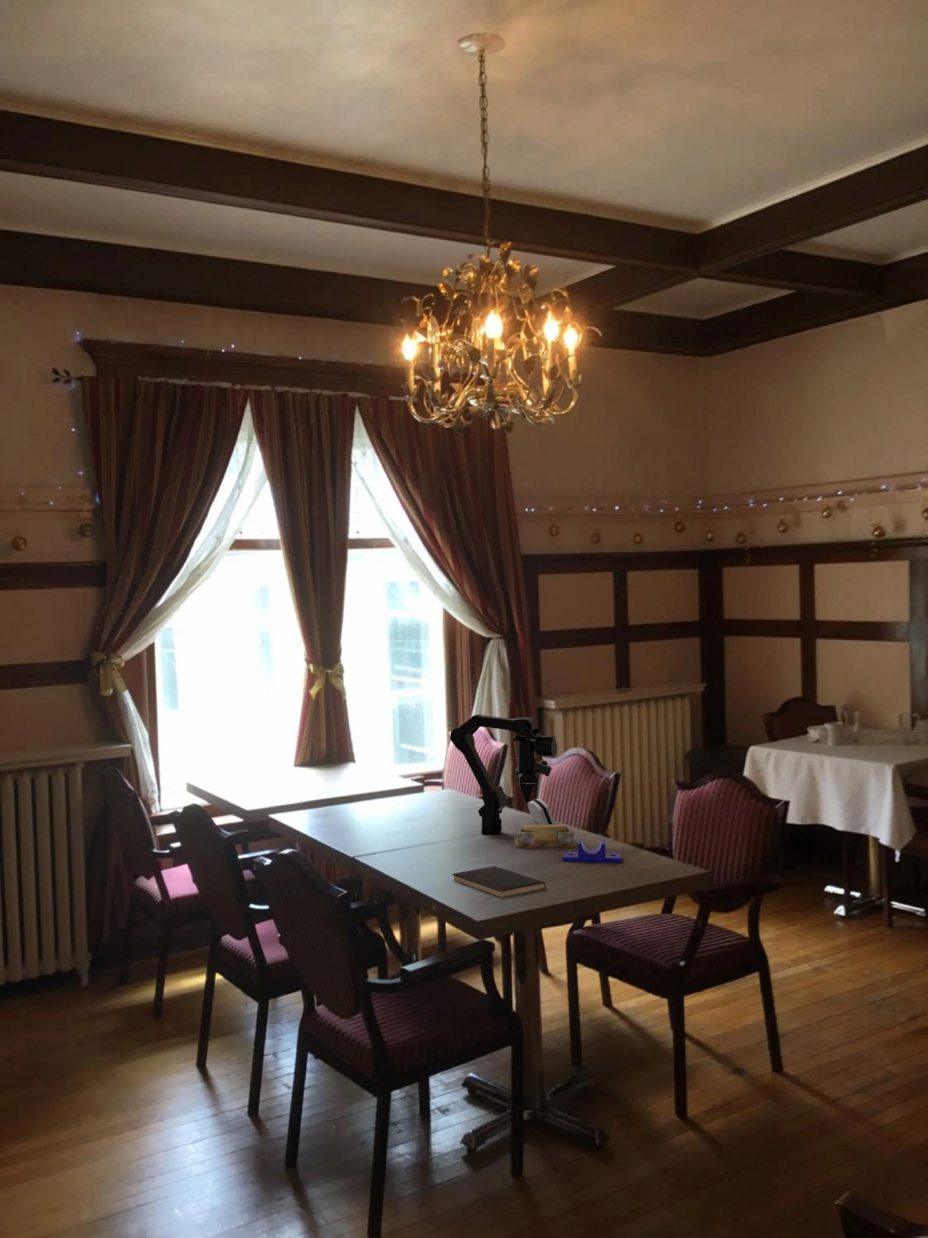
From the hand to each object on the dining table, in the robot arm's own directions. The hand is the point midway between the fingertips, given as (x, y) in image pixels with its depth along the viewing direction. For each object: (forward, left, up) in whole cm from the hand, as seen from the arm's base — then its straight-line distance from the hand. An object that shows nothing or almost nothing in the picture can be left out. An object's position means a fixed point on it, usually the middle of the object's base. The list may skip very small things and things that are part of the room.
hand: (526, 800), depth 372 cm
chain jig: (+5, -12, -12) cm, 18 cm away
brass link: (+5, -12, -11) cm, 17 cm away
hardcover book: (-14, -62, -13) cm, 65 cm away
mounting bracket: (+17, -34, -13) cm, 40 cm away
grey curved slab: (+8, +20, -13) cm, 25 cm away
